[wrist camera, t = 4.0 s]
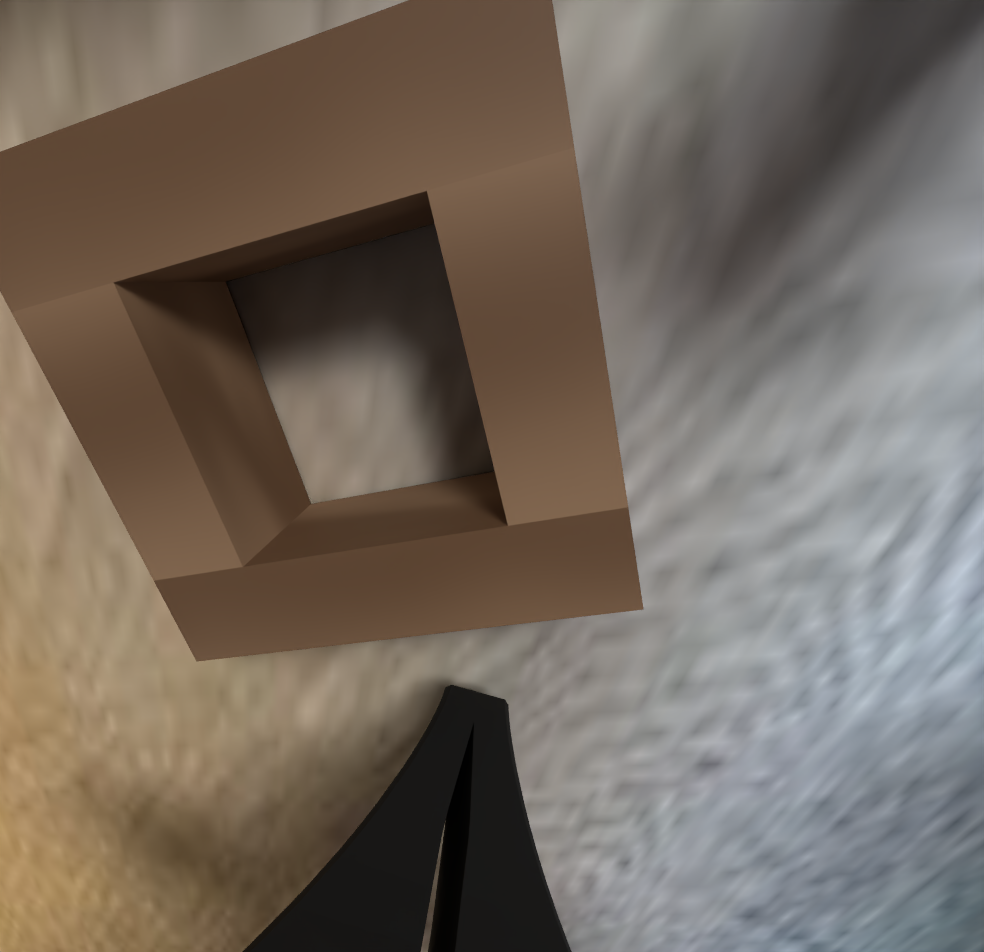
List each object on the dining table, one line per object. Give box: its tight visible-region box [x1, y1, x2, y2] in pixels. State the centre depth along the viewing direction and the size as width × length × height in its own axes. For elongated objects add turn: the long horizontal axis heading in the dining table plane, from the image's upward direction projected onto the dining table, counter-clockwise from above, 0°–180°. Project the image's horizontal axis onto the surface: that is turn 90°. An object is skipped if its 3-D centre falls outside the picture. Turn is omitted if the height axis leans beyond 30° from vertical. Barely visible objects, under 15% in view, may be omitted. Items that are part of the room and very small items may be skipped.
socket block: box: [0, 0, 643, 661], centre depth 8 cm, size 8×8×2 cm
